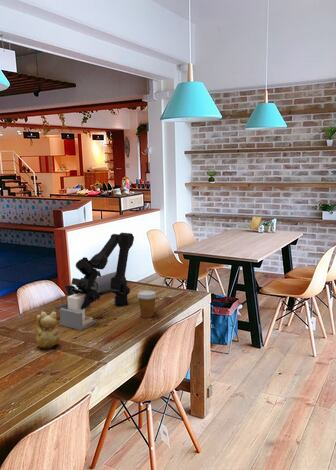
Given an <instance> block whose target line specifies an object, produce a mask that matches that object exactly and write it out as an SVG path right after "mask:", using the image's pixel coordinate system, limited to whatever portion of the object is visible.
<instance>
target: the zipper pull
mask: <svg viewBox="0 0 336 470" xmlns="http://www.w3.org/2000/svg"><path fill="white" fill-rule="evenodd" d="M83 296H84V300H85V298H86V295H83ZM66 305H67V302H66V303H62V304H60V305H56V306H55V310H60V309H61V308H64V309H68V307H67V306H66ZM90 306H91V304H89V305H88V306H87V307H86V308H85V310H86V309H88V308H90Z"/></svg>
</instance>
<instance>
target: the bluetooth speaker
mask: <svg viewBox="0 0 336 470" xmlns="http://www.w3.org/2000/svg"><path fill="white" fill-rule="evenodd" d="M115 275H116V271H114V272H111V273H107V274H104V275H101V277H98V276H97V278H96V280H95V282H94V285H95V286H94V287H92V288H91V289H94V290H96V291H97V292H98V293H99V294H100V293H101V294H102V293H104V294H105V293H109V292H110V291H111V292H112V290H111V287H110V286H111V285H110V283H111V278H112V277H114V276H115Z"/></svg>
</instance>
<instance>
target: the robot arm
mask: <svg viewBox="0 0 336 470" xmlns="http://www.w3.org/2000/svg"><path fill="white" fill-rule="evenodd" d="M134 241H135V236H134V234H133V233H132V232H120V233H112V234H111V235H110V238H109V239H108V240H107V242H106V243H105V245H104V246H103V247H102V249H101V250H100V251H99V252H97V253H96V254H94V255H93V256H92V257H91V258H90V259H88V257H87V256H86V257H85V256H84V257H82V258H81V259H79V260H78V261H76V263H75V267H76V269H77V270H78V271H79V272H80V273H81V274H82V275H83V277H81V278H75V277H73V278H71V282H70V284H67V285H65V287H64V290H65V292H66V293H67V297H68V296H71V295H73V294H77V295H84V296H85V297H86V298H85V300H84V302H83V304H82V306H81V310H83V309H84V308H86V307H87V306H88V305H89V304H90V305H91V304H93V303H94V302H97V301H99V300H100V299H101V294H100V293H98V292H97V291H96V290H94V289H91V288H92V287H94V286H95V285H94V282H95V280H96V278H97V277H101V276H102V275H101V271H100V270H104V269H105V268H106V266H107V264H108V262H109V261H108V260H109V256H111V254H112V252H113V251H114V250H115V248H116V247H117V245H118V248H119V250H118V251H119V252H118V258H117V262H116V263H117V264H116V271H115V272H116V275H115V276H114V277H112V278H111V283H110V285H111V286H110V287H111V292H112V294H114V296H113V303H114V305H115V306H116V307H122V306H123V307H124V306H128V305H129V303H128V302H129V301H128V300H129V299H128V295H129V294H130V293H131V289H130V287H129V286H128V280H127V278H126V270H127V263H128V257H129V252H130V251H129V250H130V249H131V248H132V247H133V244H134ZM66 303H67V305H66V306H67V307H68V300H67V299H66ZM86 309H87V308H86Z"/></svg>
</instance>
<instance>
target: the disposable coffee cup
mask: <svg viewBox="0 0 336 470" xmlns="http://www.w3.org/2000/svg"><path fill="white" fill-rule="evenodd" d="M136 296H137V298H138V302H139V310H140V316H141V317H142V318H151V317H154V316H153V315H155V306H156V305H155V303H156V298H157V293H156V291H154V290H151V289H143V290H139V291H138V293H137V295H136Z"/></svg>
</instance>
